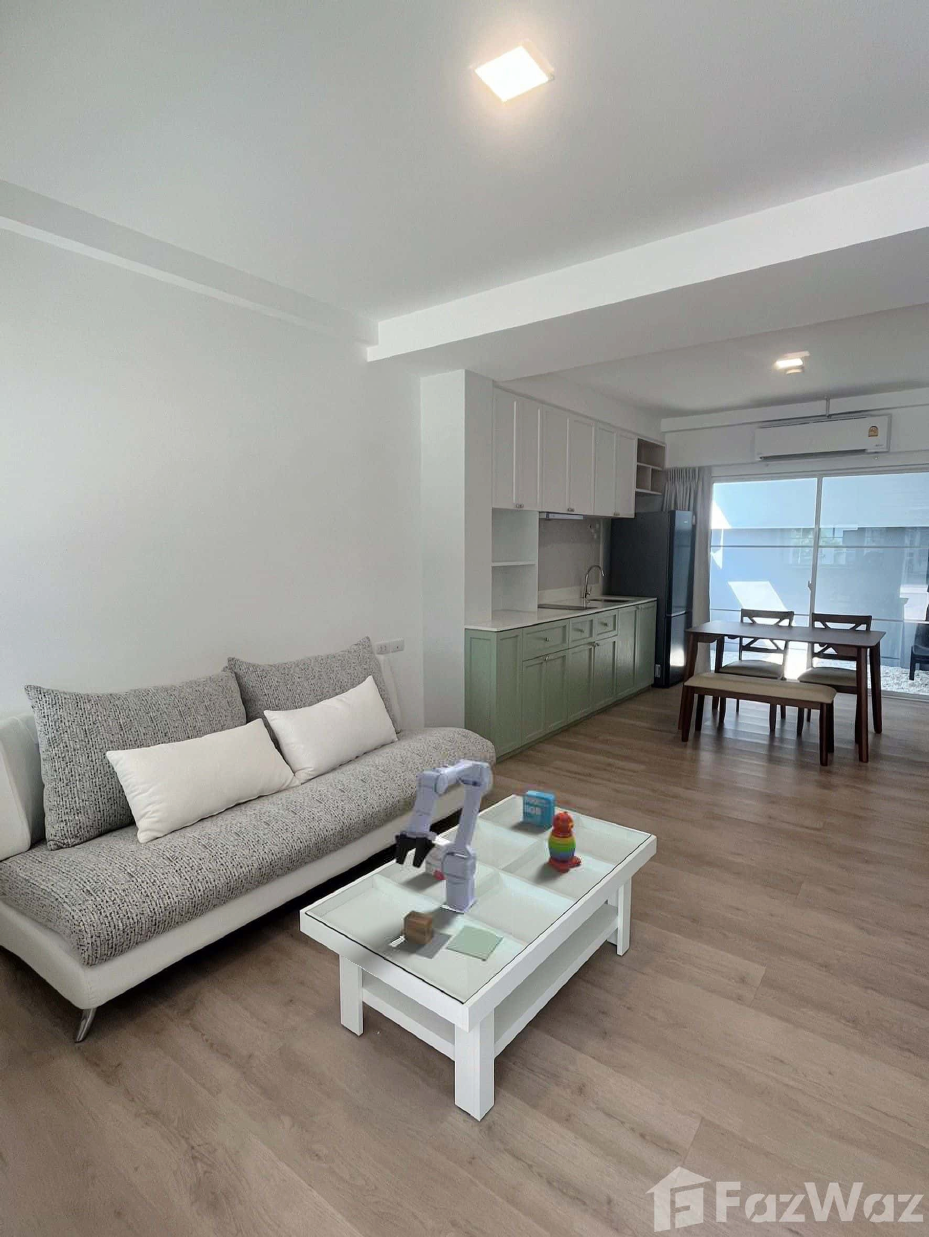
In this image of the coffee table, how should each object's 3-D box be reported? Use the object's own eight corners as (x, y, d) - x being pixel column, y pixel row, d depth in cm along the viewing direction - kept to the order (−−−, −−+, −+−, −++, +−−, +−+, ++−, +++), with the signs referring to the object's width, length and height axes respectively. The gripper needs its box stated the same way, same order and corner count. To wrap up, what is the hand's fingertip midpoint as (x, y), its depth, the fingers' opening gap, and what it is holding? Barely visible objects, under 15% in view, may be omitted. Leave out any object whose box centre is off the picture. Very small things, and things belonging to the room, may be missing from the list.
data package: (522, 822, 263) (522, 793, 262) (527, 818, 267) (527, 789, 266) (550, 828, 257) (550, 798, 256) (555, 824, 261) (555, 794, 260)
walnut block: (412, 930, 189) (412, 910, 188) (433, 936, 186) (433, 916, 185) (403, 938, 185) (403, 918, 184) (425, 944, 182) (425, 924, 181)
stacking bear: (563, 873, 221) (564, 822, 219) (540, 863, 229) (541, 813, 227) (584, 863, 228) (584, 813, 227) (561, 853, 236) (561, 805, 234)
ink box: (452, 874, 221) (452, 841, 220) (442, 880, 217) (442, 846, 216) (434, 866, 227) (434, 833, 226) (424, 871, 223) (424, 838, 222)
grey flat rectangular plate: (409, 923, 192) (409, 923, 192) (452, 936, 186) (452, 935, 186) (387, 946, 182) (387, 945, 182) (431, 959, 175) (431, 959, 175)
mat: (465, 926, 191) (465, 924, 191) (503, 936, 186) (503, 935, 186) (445, 948, 180) (445, 947, 180) (485, 960, 175) (485, 959, 175)
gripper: (396, 808, 184) (380, 858, 179) (427, 811, 174) (412, 864, 168) (415, 816, 188) (400, 865, 182) (447, 819, 177) (432, 872, 171)
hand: (407, 865), depth 175 cm, fingers open, 7 cm apart
